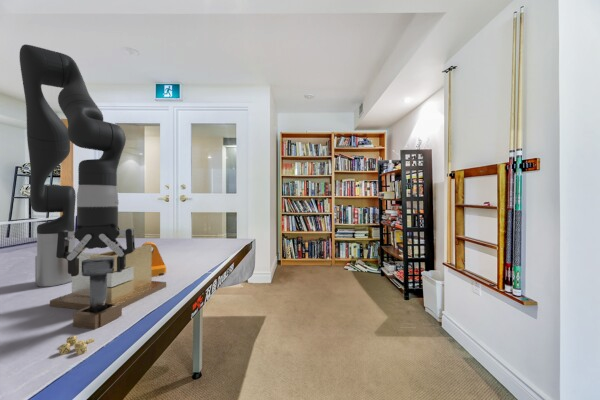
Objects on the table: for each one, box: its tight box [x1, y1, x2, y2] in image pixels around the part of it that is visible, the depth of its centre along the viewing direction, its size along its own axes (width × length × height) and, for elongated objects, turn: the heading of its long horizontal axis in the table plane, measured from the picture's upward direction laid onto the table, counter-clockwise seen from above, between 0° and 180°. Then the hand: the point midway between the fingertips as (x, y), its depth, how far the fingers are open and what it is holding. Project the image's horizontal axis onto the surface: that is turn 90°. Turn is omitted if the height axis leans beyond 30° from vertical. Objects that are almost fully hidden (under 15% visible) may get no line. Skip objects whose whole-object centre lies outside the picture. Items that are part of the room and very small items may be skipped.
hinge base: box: [49, 245, 167, 330], centre depth 70 cm, size 24×26×14 cm
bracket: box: [141, 241, 167, 278], centre depth 94 cm, size 11×7×12 cm, turn 125°
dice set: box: [58, 335, 95, 356], centre depth 48 cm, size 5×5×2 cm
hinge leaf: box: [71, 251, 134, 294], centre depth 69 cm, size 17×7×11 cm, turn 79°
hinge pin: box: [82, 257, 114, 313], centre depth 59 cm, size 6×6×14 cm
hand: (98, 273), depth 58 cm, fingers open, 8 cm apart
